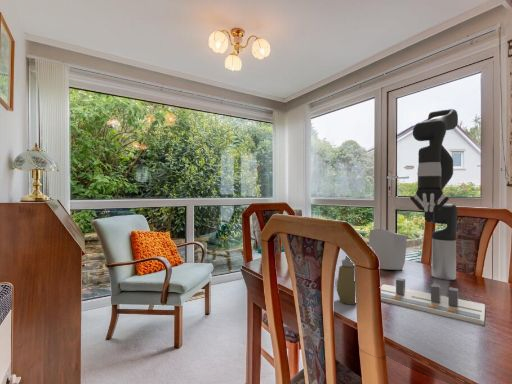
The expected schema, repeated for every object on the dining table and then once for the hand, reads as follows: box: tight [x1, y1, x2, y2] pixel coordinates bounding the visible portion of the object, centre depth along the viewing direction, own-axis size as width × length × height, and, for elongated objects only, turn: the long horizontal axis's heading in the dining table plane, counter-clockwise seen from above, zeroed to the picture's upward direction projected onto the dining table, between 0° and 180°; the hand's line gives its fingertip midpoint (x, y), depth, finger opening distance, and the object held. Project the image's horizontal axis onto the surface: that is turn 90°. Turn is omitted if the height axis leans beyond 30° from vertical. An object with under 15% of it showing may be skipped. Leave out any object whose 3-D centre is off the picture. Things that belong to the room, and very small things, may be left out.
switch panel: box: [380, 284, 486, 326], centre depth 99 cm, size 16×32×2 cm, turn 51°
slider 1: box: [395, 277, 406, 295], centre depth 104 cm, size 3×2×5 cm
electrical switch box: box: [368, 228, 408, 271], centre depth 147 cm, size 15×15×20 cm
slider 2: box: [448, 286, 459, 306], centre depth 94 cm, size 3×2×5 cm
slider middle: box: [430, 283, 442, 303], centre depth 97 cm, size 3×2×5 cm
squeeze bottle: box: [336, 255, 355, 305], centre depth 100 cm, size 8×8×18 cm
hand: (429, 221), depth 107 cm, fingers closed
